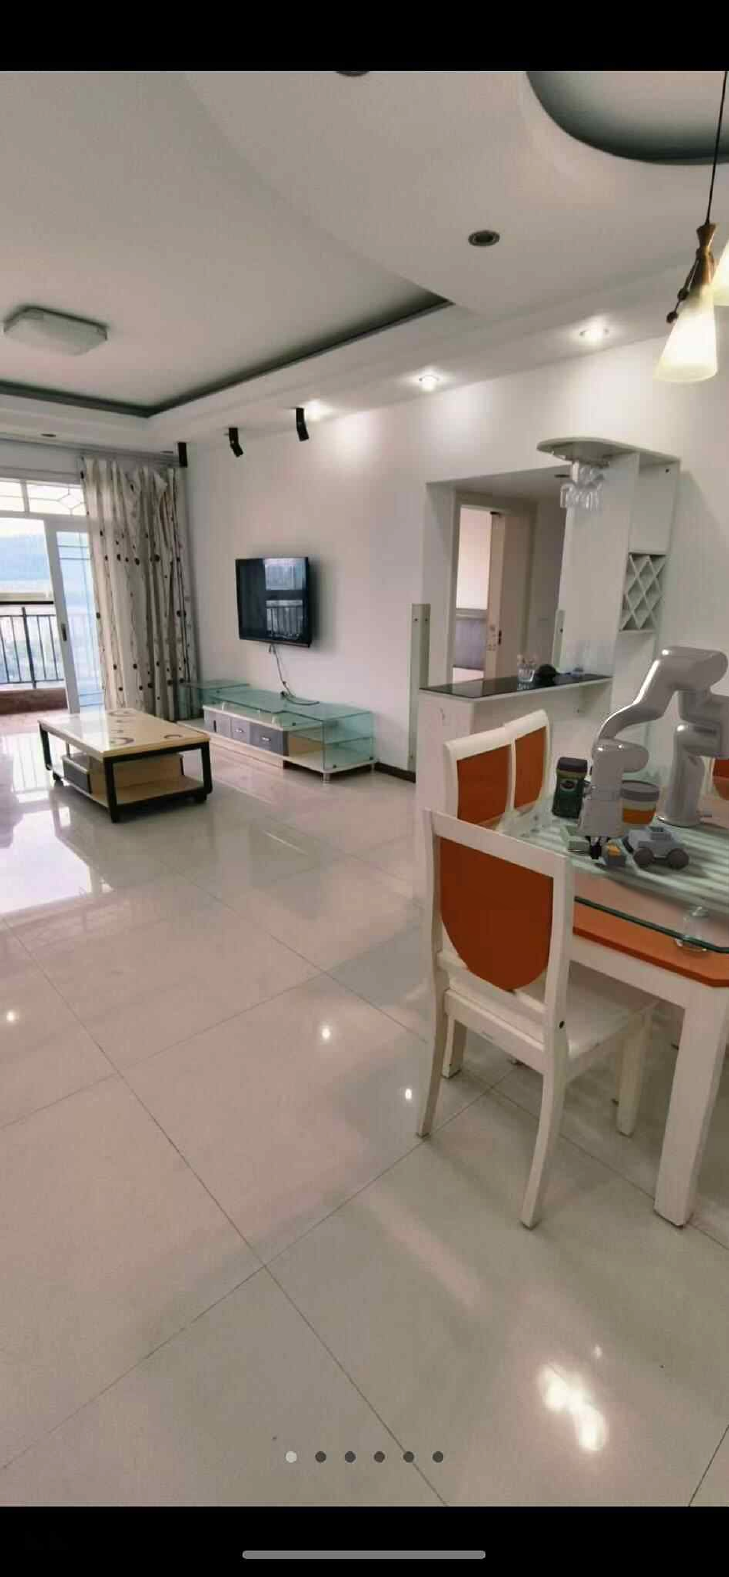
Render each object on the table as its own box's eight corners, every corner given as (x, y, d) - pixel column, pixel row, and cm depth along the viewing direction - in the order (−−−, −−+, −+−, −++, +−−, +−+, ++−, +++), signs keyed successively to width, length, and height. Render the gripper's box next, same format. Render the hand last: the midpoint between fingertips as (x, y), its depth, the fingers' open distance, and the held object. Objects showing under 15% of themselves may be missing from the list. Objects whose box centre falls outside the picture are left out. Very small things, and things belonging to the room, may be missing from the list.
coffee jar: (583, 812, 214) (591, 757, 209) (579, 820, 208) (587, 763, 202) (552, 807, 218) (560, 753, 213) (548, 814, 212) (555, 758, 206)
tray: (603, 835, 196) (605, 826, 195) (615, 853, 184) (617, 843, 183) (558, 833, 197) (560, 823, 196) (567, 850, 185) (569, 840, 184)
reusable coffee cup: (624, 843, 191) (632, 794, 187) (599, 827, 203) (606, 780, 198) (661, 839, 195) (670, 791, 190) (634, 824, 206) (642, 778, 201)
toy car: (671, 850, 187) (676, 822, 184) (687, 869, 175) (693, 839, 173) (620, 847, 188) (624, 819, 185) (633, 866, 176) (638, 836, 174)
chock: (619, 861, 179) (621, 846, 178) (624, 868, 175) (627, 852, 174) (603, 861, 179) (605, 845, 178) (607, 867, 175) (610, 851, 174)
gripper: (578, 796, 168) (568, 862, 174) (638, 799, 168) (626, 865, 173) (571, 787, 176) (562, 850, 181) (629, 790, 175) (618, 853, 180)
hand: (594, 857), depth 177 cm, fingers closed
